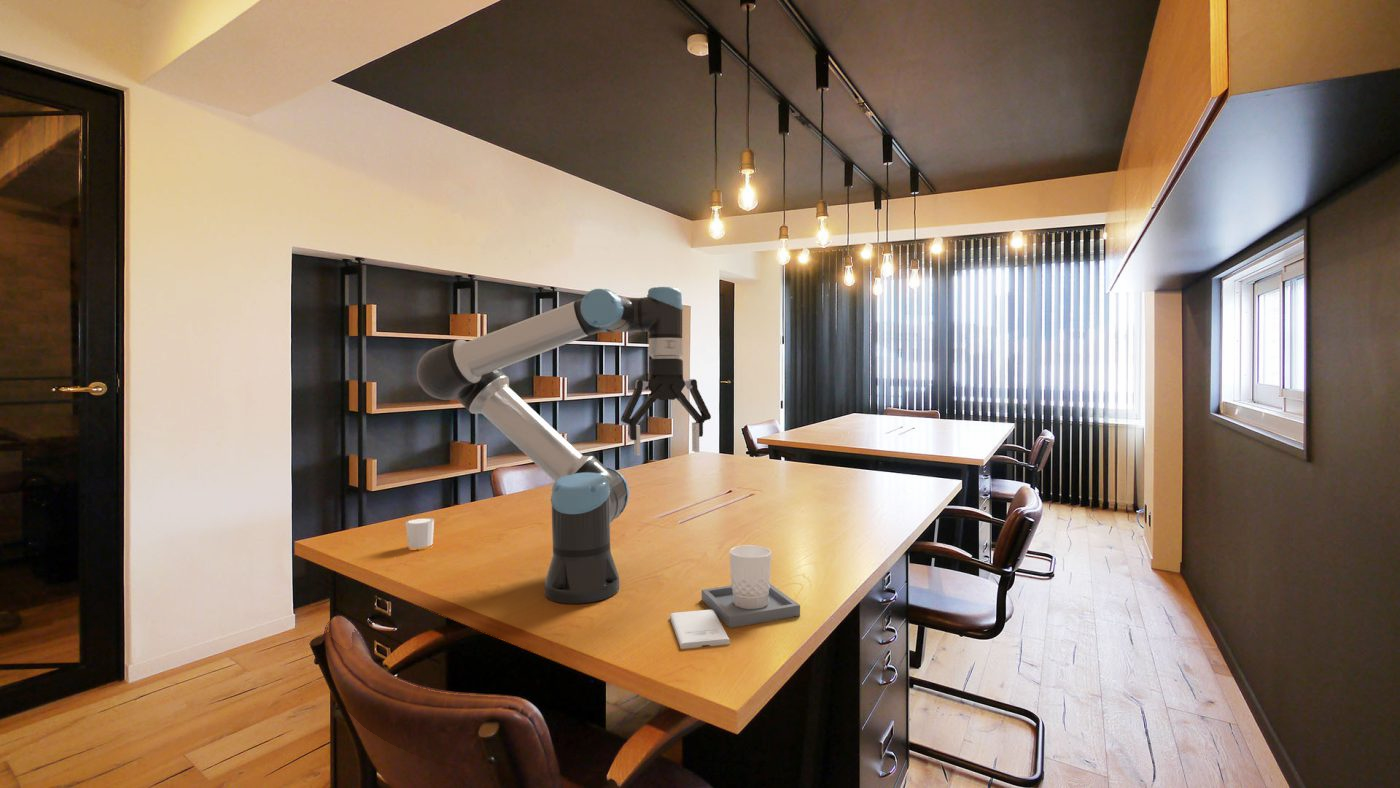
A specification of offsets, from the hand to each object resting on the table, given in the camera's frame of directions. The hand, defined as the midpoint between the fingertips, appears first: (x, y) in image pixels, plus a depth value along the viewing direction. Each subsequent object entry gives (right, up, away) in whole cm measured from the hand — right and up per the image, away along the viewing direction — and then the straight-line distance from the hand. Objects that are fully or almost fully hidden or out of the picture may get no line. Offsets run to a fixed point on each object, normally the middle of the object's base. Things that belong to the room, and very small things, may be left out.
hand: (667, 453), depth 135 cm
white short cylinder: (-65, -27, +22) cm, 74 cm away
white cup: (+17, -27, -20) cm, 38 cm away
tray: (+17, -27, -20) cm, 38 cm away
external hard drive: (+7, -29, -30) cm, 42 cm away
